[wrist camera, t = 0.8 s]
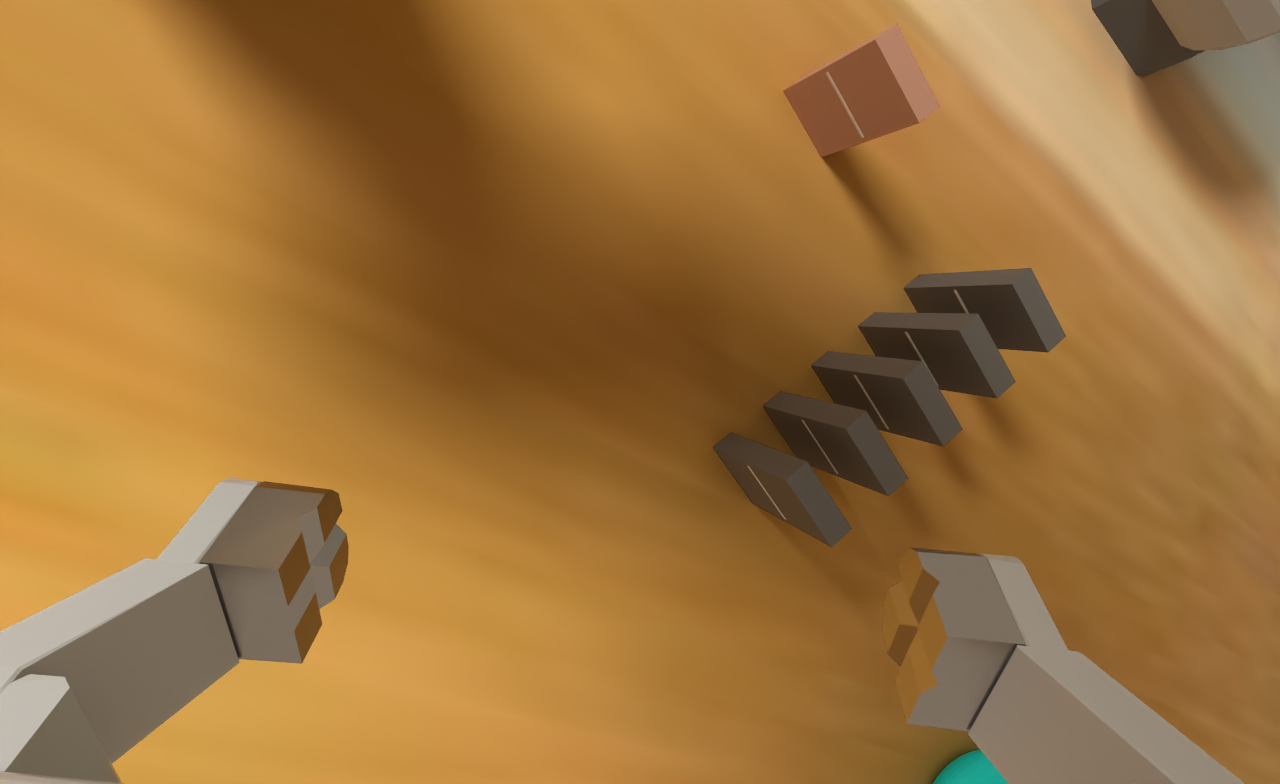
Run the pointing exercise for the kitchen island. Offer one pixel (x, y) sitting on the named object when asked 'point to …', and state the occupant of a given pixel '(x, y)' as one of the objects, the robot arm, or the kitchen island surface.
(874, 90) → the domino
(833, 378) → the domino
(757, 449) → the domino
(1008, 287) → the domino
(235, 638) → the robot arm
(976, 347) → the domino
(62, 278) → the kitchen island surface
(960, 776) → the donuts
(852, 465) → the domino
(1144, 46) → the alarm clock
